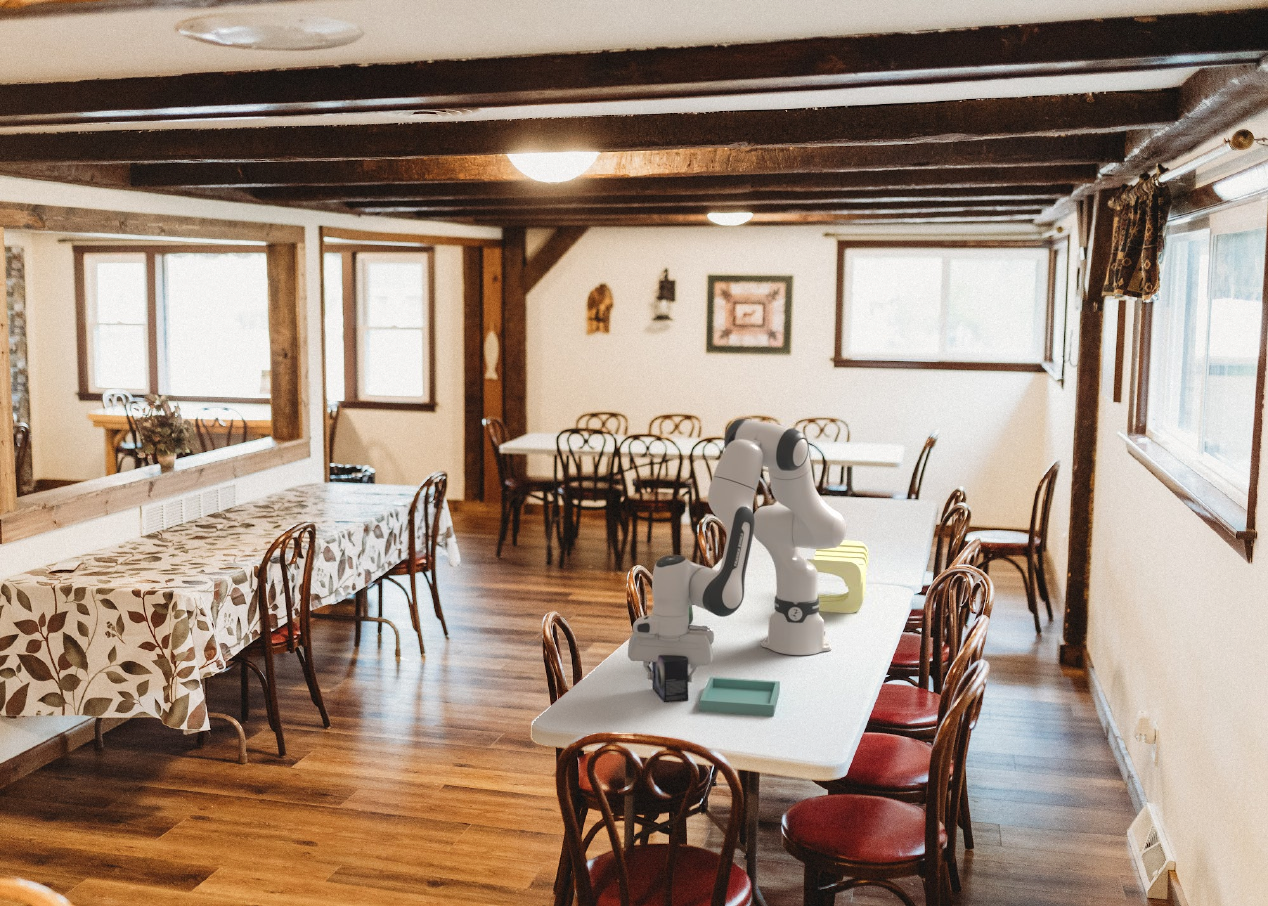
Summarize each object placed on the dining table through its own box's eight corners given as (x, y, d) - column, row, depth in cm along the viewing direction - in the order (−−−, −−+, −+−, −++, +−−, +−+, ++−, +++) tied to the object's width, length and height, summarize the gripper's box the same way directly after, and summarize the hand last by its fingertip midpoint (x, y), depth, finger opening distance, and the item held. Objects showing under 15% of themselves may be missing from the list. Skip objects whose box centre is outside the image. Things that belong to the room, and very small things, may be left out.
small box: (650, 688, 284) (650, 647, 283) (675, 686, 286) (676, 645, 285) (662, 703, 274) (663, 660, 273) (689, 700, 276) (689, 657, 275)
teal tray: (709, 687, 286) (709, 676, 285) (779, 691, 282) (779, 681, 282) (699, 711, 269) (699, 700, 269) (773, 716, 266) (773, 705, 266)
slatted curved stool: (859, 621, 344) (861, 562, 342) (805, 617, 348) (806, 559, 346) (867, 596, 373) (868, 541, 370) (816, 593, 377) (818, 538, 374)
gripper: (715, 622, 279) (715, 678, 281) (631, 618, 283) (631, 673, 285) (712, 630, 273) (711, 687, 274) (626, 625, 277) (626, 681, 279)
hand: (670, 680), depth 280 cm, fingers closed on small box, 8 cm apart
